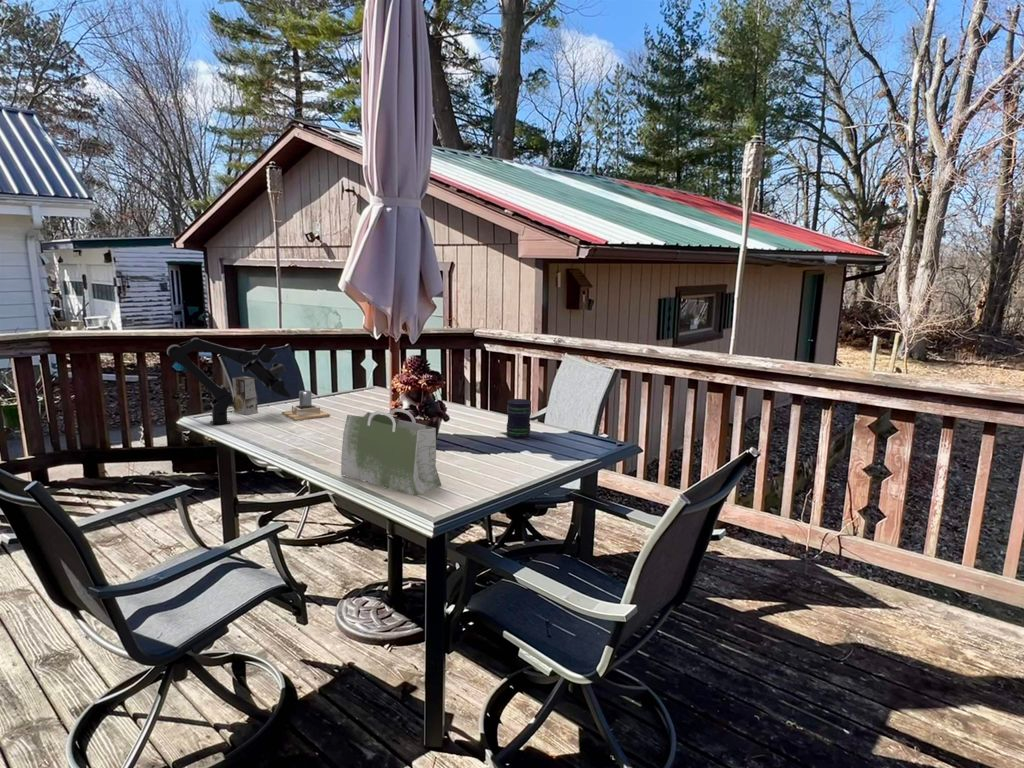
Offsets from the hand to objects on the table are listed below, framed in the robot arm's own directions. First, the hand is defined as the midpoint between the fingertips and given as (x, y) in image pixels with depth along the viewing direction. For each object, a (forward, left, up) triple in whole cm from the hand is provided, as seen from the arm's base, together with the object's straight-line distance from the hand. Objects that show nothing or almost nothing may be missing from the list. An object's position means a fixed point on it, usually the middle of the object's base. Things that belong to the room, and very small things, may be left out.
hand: (287, 395), depth 279 cm
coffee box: (-18, -13, -10) cm, 24 cm away
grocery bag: (+101, -4, -10) cm, 102 cm away
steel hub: (+1, +8, -9) cm, 12 cm away
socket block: (+1, +8, -10) cm, 13 cm away
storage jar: (+81, +66, -10) cm, 105 cm away
